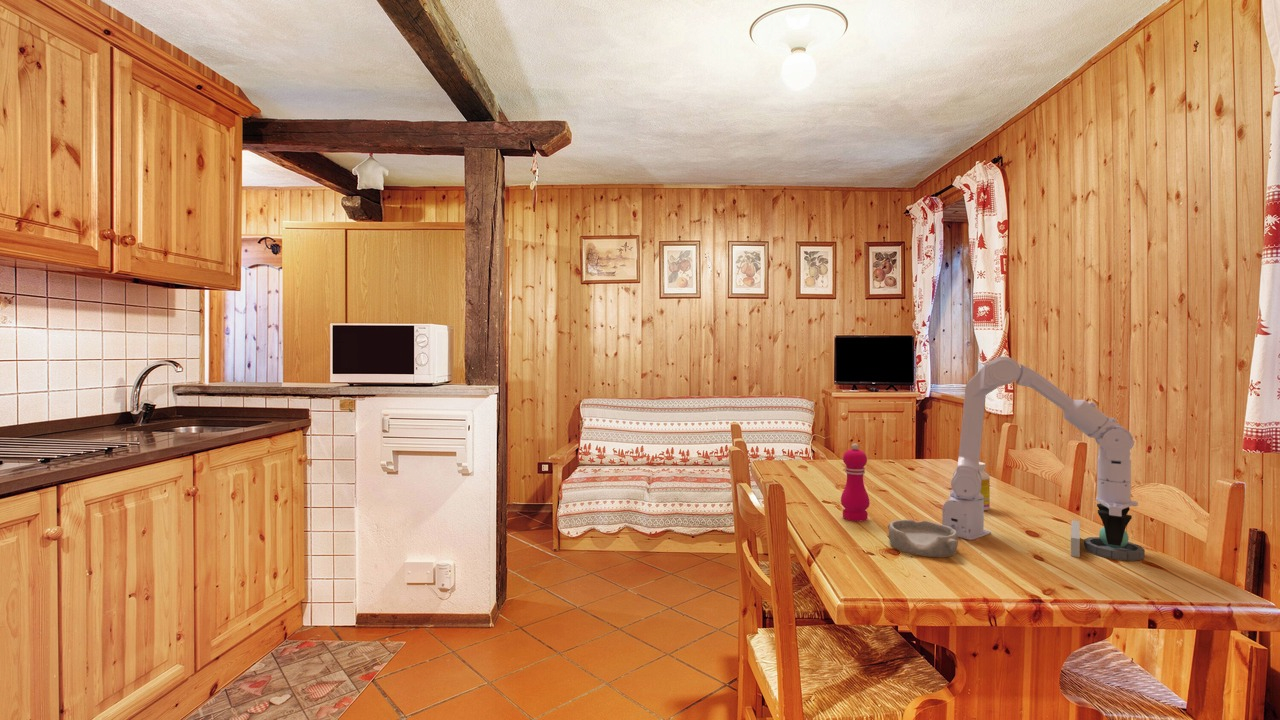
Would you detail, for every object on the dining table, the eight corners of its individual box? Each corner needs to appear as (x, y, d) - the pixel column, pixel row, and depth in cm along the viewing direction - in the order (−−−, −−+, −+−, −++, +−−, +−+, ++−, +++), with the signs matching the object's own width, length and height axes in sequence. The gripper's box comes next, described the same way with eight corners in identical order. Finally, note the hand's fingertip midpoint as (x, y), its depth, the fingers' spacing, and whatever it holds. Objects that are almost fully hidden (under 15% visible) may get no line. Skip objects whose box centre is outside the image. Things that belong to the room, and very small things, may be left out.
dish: (966, 561, 122) (966, 538, 122) (896, 557, 125) (896, 534, 125) (944, 539, 137) (944, 518, 136) (882, 536, 139) (882, 515, 139)
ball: (1123, 553, 123) (1123, 529, 123) (1095, 546, 127) (1095, 523, 127) (1132, 548, 126) (1132, 525, 126) (1104, 542, 130) (1104, 520, 130)
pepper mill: (835, 515, 156) (834, 442, 156) (857, 513, 159) (857, 440, 158) (852, 523, 149) (852, 446, 149) (875, 520, 152) (875, 444, 151)
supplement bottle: (995, 509, 161) (995, 464, 160) (978, 512, 158) (978, 465, 158) (973, 504, 167) (973, 459, 167) (956, 506, 164) (957, 461, 164)
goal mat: (1133, 564, 120) (1133, 555, 120) (1076, 550, 128) (1076, 542, 128) (1150, 554, 125) (1150, 546, 125) (1095, 542, 133) (1095, 534, 133)
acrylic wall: (1079, 557, 124) (1079, 539, 124) (1070, 556, 125) (1070, 537, 125) (1079, 537, 136) (1079, 521, 136) (1071, 536, 137) (1071, 519, 137)
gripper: (1140, 488, 118) (1140, 554, 118) (1135, 475, 130) (1134, 535, 130) (1096, 483, 122) (1096, 547, 122) (1095, 472, 134) (1095, 530, 134)
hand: (1113, 541), depth 126 cm, fingers closed on ball, 5 cm apart
